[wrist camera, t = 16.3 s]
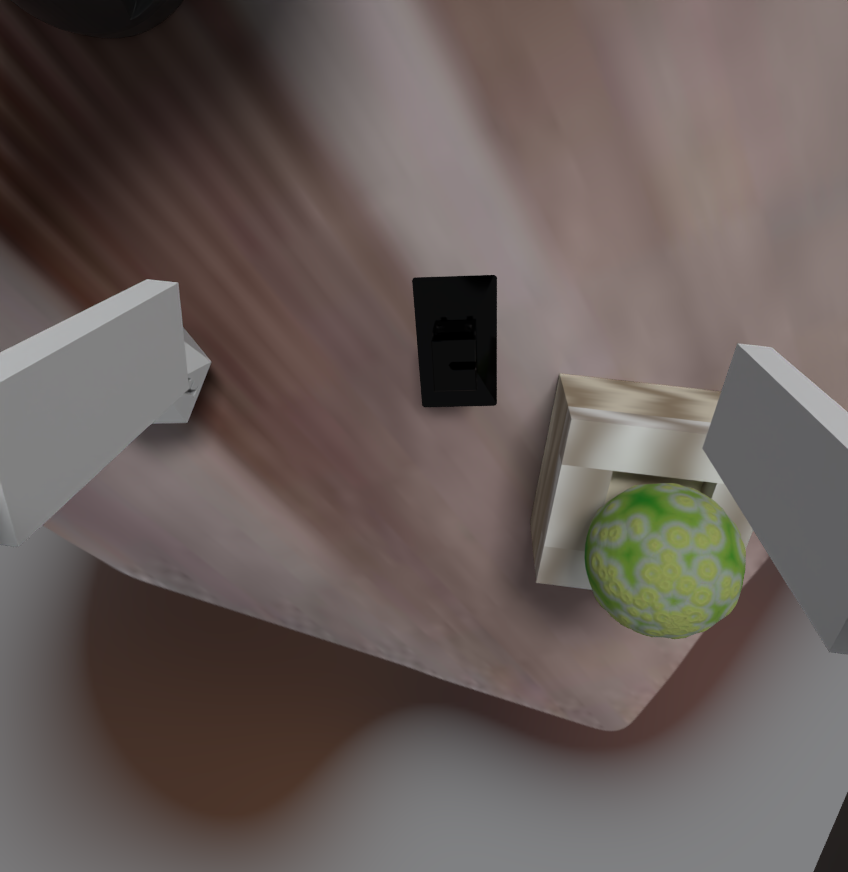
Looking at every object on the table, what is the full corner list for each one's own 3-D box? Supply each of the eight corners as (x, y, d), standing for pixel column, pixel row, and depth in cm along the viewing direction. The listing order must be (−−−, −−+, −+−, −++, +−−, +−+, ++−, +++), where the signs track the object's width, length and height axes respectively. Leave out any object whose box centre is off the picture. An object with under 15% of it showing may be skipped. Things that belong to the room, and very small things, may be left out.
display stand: (530, 521, 55) (536, 582, 48) (559, 373, 48) (571, 418, 41) (691, 541, 54) (722, 606, 47) (744, 394, 48) (788, 443, 41)
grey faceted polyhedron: (171, 416, 54) (198, 456, 47) (61, 386, 49) (72, 425, 41) (206, 328, 53) (239, 354, 46) (97, 287, 48) (115, 309, 40)
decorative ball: (556, 480, 45) (560, 594, 37) (700, 431, 40) (739, 549, 33) (610, 565, 49) (623, 682, 41) (744, 530, 45) (787, 653, 37)
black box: (505, 419, 51) (507, 447, 47) (412, 420, 52) (405, 448, 48) (506, 254, 45) (508, 270, 41) (399, 259, 46) (390, 275, 42)
